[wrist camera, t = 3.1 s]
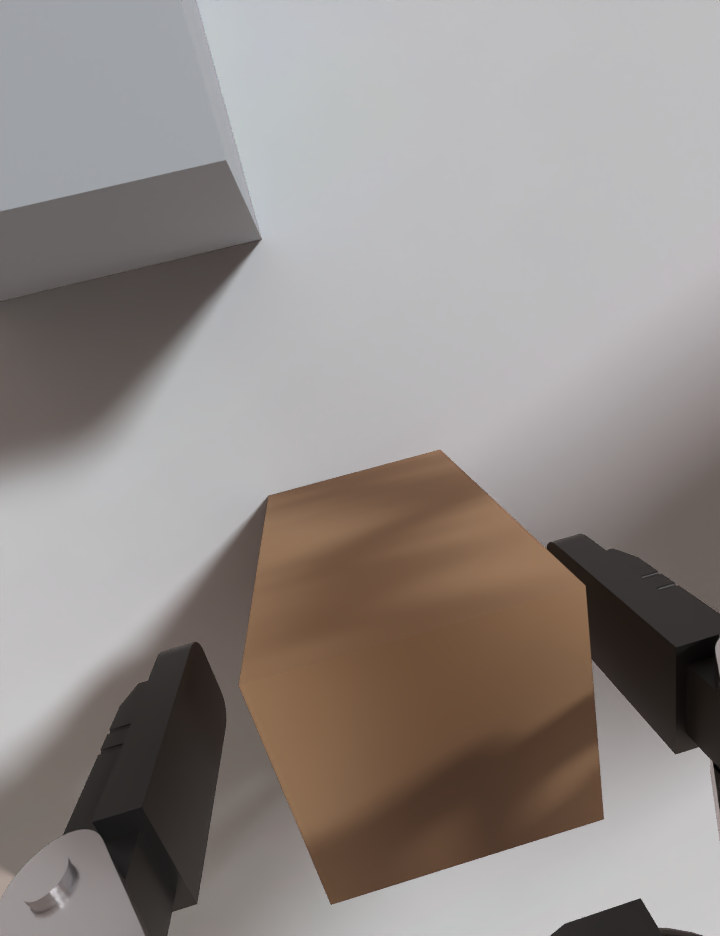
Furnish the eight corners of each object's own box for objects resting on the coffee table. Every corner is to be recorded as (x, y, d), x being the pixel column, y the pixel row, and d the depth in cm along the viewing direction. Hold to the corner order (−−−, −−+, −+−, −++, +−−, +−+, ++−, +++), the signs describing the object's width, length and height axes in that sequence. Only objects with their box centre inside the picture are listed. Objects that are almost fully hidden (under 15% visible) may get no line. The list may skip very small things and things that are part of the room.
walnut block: (439, 449, 13) (585, 585, 6) (466, 593, 15) (604, 819, 8) (268, 495, 13) (238, 685, 6) (315, 636, 14) (330, 905, 8)
